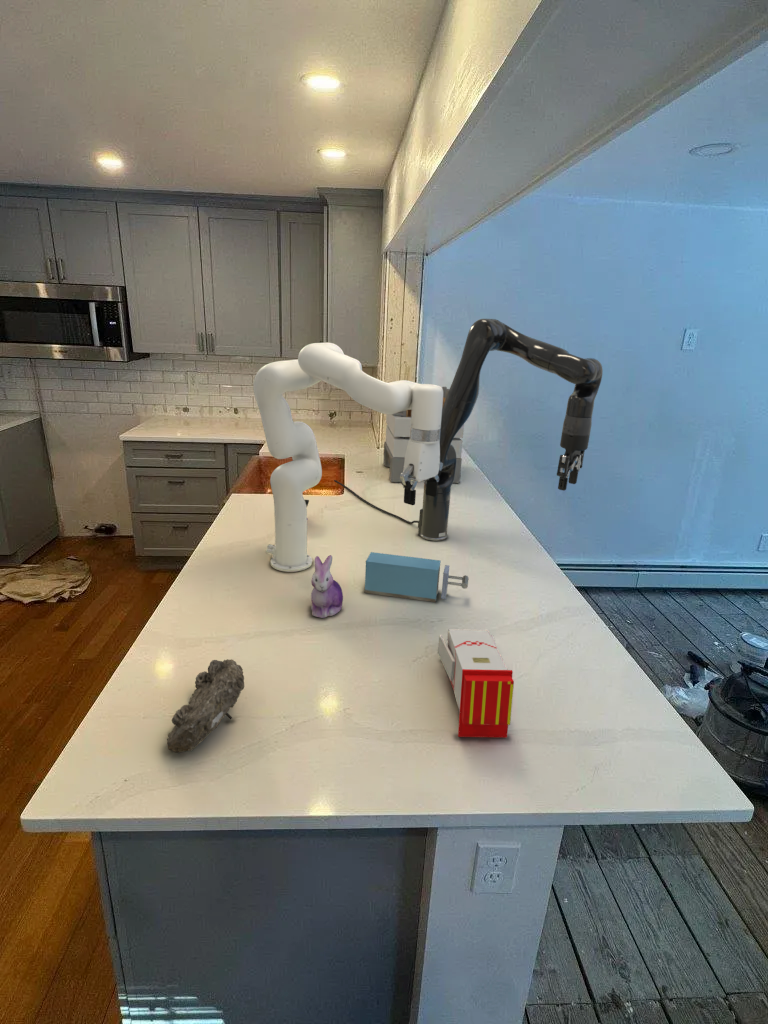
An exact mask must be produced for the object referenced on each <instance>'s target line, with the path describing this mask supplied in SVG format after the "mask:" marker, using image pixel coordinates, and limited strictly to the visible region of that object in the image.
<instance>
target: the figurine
mask: <svg viewBox="0 0 768 1024" xmlns="http://www.w3.org/2000/svg"><path fill="white" fill-rule="evenodd" d="M332 563H333V555H331V554H330V555H328V556H326V558H325V560H324V562H322V560H321V558H320V556H318V555H316V556H315V557H314V572H313V574H312V575H311V581H310V582H311V585H312V587H313V589H312V590H311V593H310V600H311V606H310V609H311V615H312V616H313V617H316V618H327V617H331V616H335V615H336V614H338V613H339V612H340V611H341V610H342V608H343V601H344V594H343V590H342V587H341V585H340V583H339V582H338V581H336V580H335V579H334V576H333V574H332V573H331V568H332Z"/></svg>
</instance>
